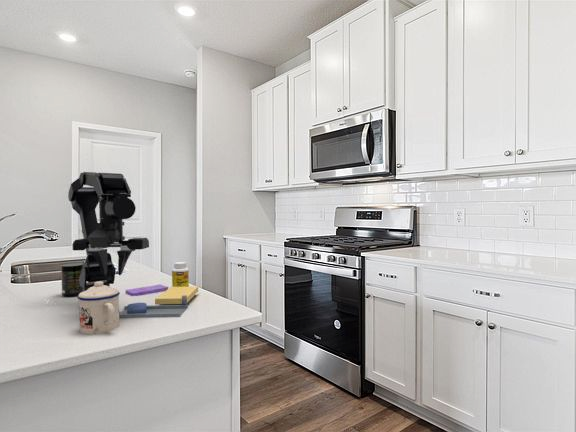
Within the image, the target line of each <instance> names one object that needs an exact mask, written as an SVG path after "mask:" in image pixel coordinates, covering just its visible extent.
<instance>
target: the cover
mask: <svg viewBox="0 0 576 432" xmlns="http://www.w3.org/2000/svg"><path fill="white" fill-rule="evenodd" d="M198 292H199V286H198V285H195V286H189V287H172V286H170V287H168V290H166V291H164V292H161V294H159V295H158V296H156V297H155V298H154V305H188V303H189V302H190V301H191V300H192V298H194V296H195V295H197V294H198Z"/></svg>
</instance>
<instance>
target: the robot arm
mask: <svg viewBox="0 0 576 432" xmlns="http://www.w3.org/2000/svg"><path fill="white" fill-rule="evenodd" d="M87 186H88V187H87ZM68 189H69V190H68V192H67V193H68V201H69V202H70V204H71V207H72V209H73V210H74V211H75V212H76V213H77V214H78V215H79V219H80V220H79V221H80V225H81V230H82V235H83V238H79V239H75V240H74V241H73V243H72V251H85V253H86V257H85V260H84V262H83V268H82V271H81V274H80V278H79V283H80V286H81V287H83V288H84V291H86V290H88V289H89V288H90V287H93V286H94V283H95V282H98V281H102V282H103V285H106V286H109V287H111V286H110V285H114V283H115V280H116V279H115V278H116V270H117V273H118V276H122V274H123V272H124V269H125V267H126V264H127V262H128V260H129V258H130V256H131V255H132V252H135V251H136V250H145V249H147V248H150V241H149V239H148V238H147V237H132V238H128V240H125V239H126V238H125V237H126V236H124V231H123V230H124V227H123V226H125V221H124V220H128V219H130V218H132V217H133V216H134V215H135V213H136V204H135V203H134V200H133V199H131V197H132V195H131V194H132V191H131V188H130V186H129V184H128V181H127V179H126V178H125V176H124V175H123V174H122V173H115V172H114V173H113V172H96V171H95V172H93V171H92V172H91V171H83V172H80V174H79V177H78V178H77V179H75V180H74V181H73V182H71V183H70V187H69V188H68ZM97 207H98V210H99V222H98V218H97V213H96V212H97V211H96V209H97ZM108 248H120V250H117V251H116V253H117V256H118V260H117V263H118V265H117V268H115V265H114V263H113V260H112V255H111V253H110V252H108Z"/></svg>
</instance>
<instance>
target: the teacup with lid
mask: <svg viewBox="0 0 576 432" xmlns="http://www.w3.org/2000/svg"><path fill="white" fill-rule="evenodd" d="M119 296H120V291H119V289H118V288H114V287H111V286H110V287H109V286H106V285H103V282H102V281H98V282H95V283H94V286H93V287H90V288H89V289H88V290H86V291H83V292H81V293H80V294H79V295H78V296H77V299H78V311H79V312H78V313H79V316H78V317H79V333H81V334H85V335H97V334H103V333H108V332H112V331H113V330H116V329H118V328H119V327H120V318H119V313H120V303H119V302H120V300H119V299H120V298H119Z"/></svg>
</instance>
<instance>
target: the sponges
mask: <svg viewBox="0 0 576 432" xmlns="http://www.w3.org/2000/svg"><path fill="white" fill-rule="evenodd" d="M168 289H169V286H166V285H162V284H153V285H149V286H141V287H136V288H129V289H125V294H126V295H129V296H130V297H139V296H145V295H150V294H151V295H152V294H158V293H164V292H165V291H166V290H168Z"/></svg>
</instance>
